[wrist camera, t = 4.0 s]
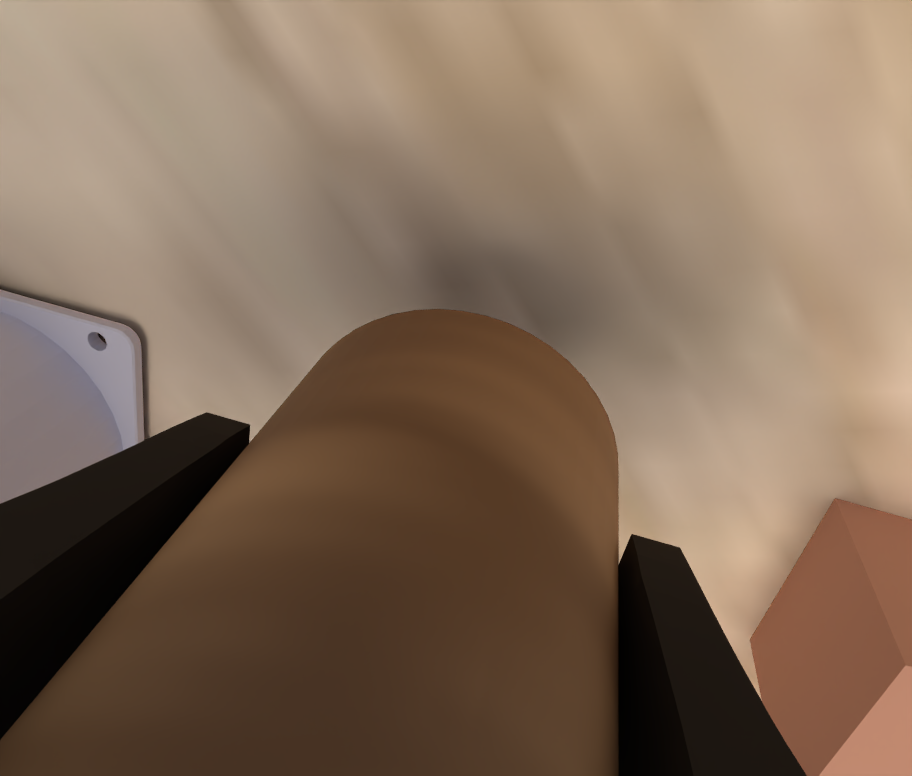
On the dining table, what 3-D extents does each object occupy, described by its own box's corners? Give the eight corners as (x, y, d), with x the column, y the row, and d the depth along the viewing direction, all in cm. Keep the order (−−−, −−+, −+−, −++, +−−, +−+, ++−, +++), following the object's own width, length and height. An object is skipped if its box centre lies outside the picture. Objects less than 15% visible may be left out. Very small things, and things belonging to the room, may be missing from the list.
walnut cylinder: (283, 538, 12) (-39, 1052, 6) (310, 268, 10) (-179, 689, 4) (565, 622, 12) (511, 1254, 6) (668, 364, 9) (755, 1000, 3)
